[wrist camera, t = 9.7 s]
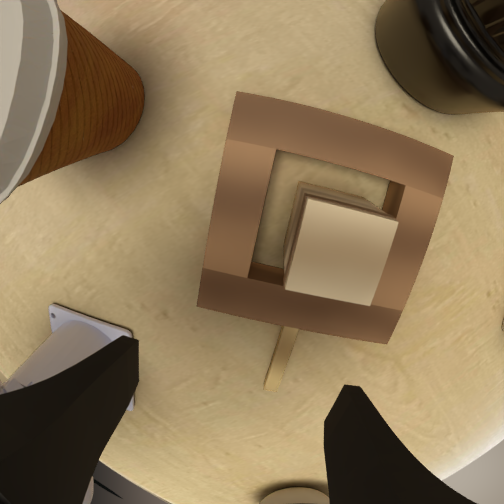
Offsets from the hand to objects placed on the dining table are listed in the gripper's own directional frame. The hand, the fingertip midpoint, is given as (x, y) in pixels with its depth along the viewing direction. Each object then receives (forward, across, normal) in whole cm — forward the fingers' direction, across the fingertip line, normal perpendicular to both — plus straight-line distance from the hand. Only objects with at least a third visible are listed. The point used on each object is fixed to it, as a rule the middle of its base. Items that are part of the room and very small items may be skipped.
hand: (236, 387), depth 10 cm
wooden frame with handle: (+10, -3, 0) cm, 11 cm away
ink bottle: (+11, -8, -17) cm, 22 cm away
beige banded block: (+10, -3, -4) cm, 12 cm away
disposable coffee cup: (+11, +12, -9) cm, 18 cm away
